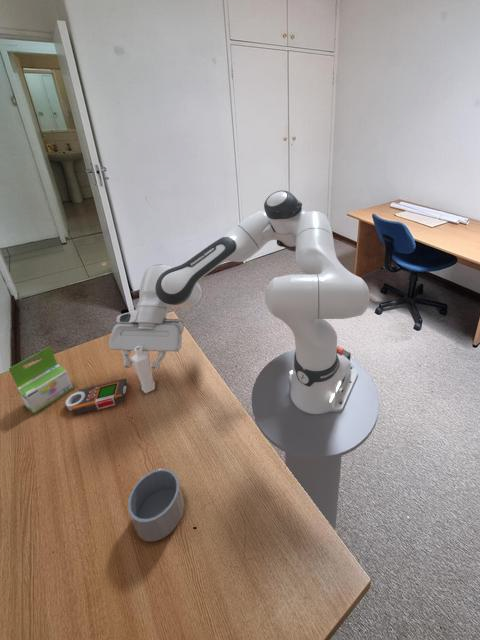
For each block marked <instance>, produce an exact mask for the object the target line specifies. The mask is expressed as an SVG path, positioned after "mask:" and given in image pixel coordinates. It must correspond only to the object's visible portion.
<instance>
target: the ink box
mask: <svg viewBox="0 0 480 640" xmlns="http://www.w3.org/2000/svg"><path fill="white" fill-rule="evenodd" d="M39 357H41V359H40V360H38V361H36V362H35V363H34V362H33V364H31V365H29V366H27V367H24V366H25V365H26V364H28V363H29V362H30V361H32V360H34V359H36V358H39ZM8 371H9V372H10V375H11V376H12V379H13V381H14V383H15V384H16V386H17V392H18V394H19V396H20V398H21V400H22V402H23V404H24V406H25V407H26V408H27V409H28V410H29V412H30V413H32V414H33V415H36V414H37V413H39V412H41V411H42V410H43V409H45V408H47V407H48V406H49V405H51V404H53V403H54V402H55V401H57V400H59V399H60V398H61V397H63V396H65V395H66V394H67V393H69V392H71V391H72V390H73V389H74V386H73V384H72V381H71V378H70V377H69V374H68V372H67V370H66V369H65V368H64V367H62V366H61V364H59V363H58V362H57V360H56V357H55V354H54V352H53V350H52V347H51V345H49V346H47V347H45V348H43V349H41V350H40V351H38V352H36V353H34V354H32V355H30V356H29V357H27V358H25V359H23V360H22V361H19V362H18V363H16V364H14V365H12V366H10V367H9V368H8Z"/></svg>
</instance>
